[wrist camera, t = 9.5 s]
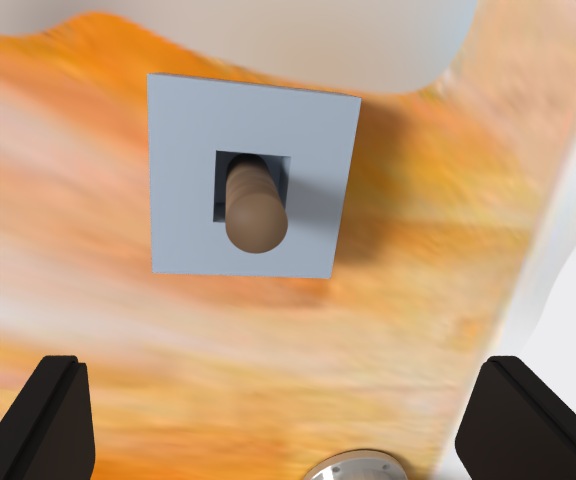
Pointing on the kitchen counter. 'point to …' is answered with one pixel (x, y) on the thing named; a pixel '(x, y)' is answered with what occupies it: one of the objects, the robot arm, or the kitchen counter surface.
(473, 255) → the kitchen counter surface
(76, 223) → the kitchen counter surface
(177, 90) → the hole block
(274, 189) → the peg
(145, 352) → the kitchen counter surface
